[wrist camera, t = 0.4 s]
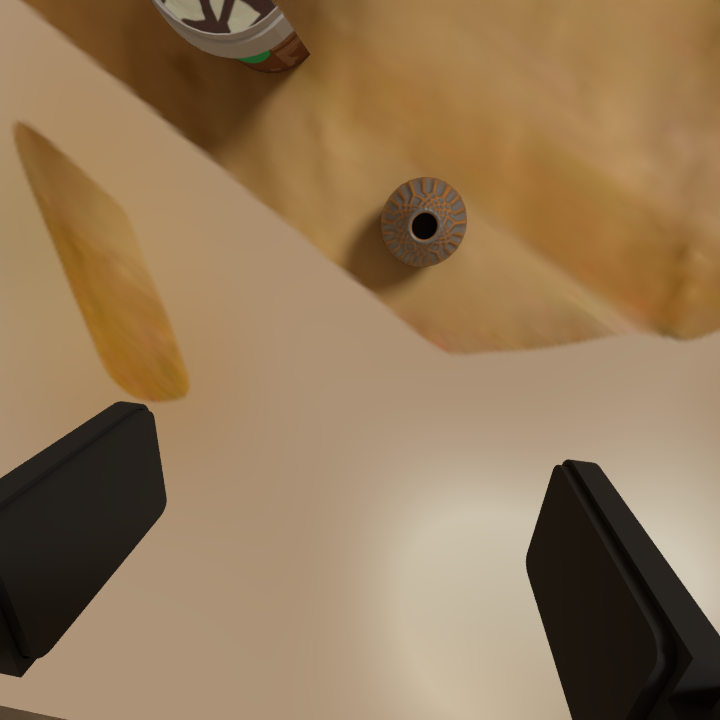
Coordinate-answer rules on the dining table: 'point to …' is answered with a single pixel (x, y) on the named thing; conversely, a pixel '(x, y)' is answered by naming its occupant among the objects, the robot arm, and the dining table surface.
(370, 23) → the dining table surface
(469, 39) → the dining table surface
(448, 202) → the vase
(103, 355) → the dining table surface
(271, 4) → the food container
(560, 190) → the dining table surface
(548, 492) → the robot arm
